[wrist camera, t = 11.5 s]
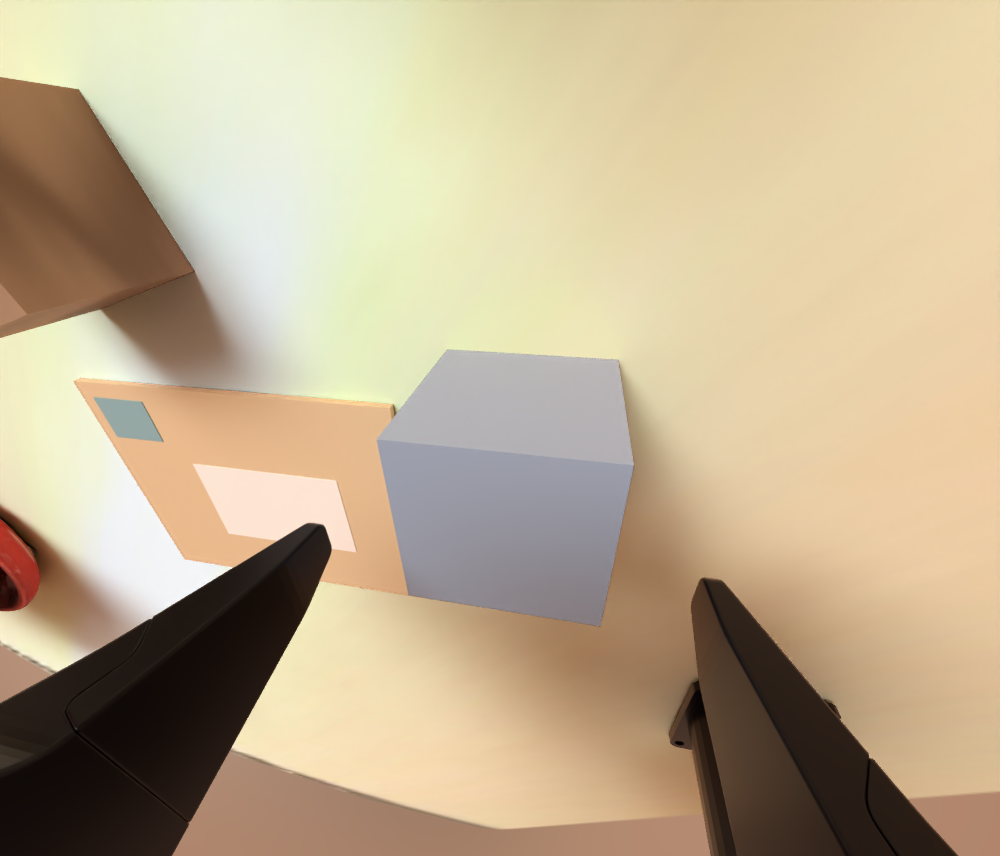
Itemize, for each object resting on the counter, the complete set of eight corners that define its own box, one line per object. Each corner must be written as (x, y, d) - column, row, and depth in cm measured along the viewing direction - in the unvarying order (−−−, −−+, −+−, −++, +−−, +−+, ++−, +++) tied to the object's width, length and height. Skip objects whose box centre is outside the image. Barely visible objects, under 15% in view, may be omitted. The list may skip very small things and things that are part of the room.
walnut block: (196, 270, 14) (27, 314, 10) (102, 308, 15) (-79, 360, 11) (81, 89, 11) (-207, 45, 7) (-17, 156, 13) (-301, 150, 9)
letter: (424, 592, 21) (422, 598, 21) (188, 554, 23) (183, 559, 23) (393, 404, 15) (389, 408, 15) (80, 378, 17) (72, 381, 17)
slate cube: (597, 493, 16) (600, 626, 11) (458, 477, 17) (408, 595, 12) (617, 358, 13) (634, 465, 8) (447, 348, 14) (376, 439, 9)
